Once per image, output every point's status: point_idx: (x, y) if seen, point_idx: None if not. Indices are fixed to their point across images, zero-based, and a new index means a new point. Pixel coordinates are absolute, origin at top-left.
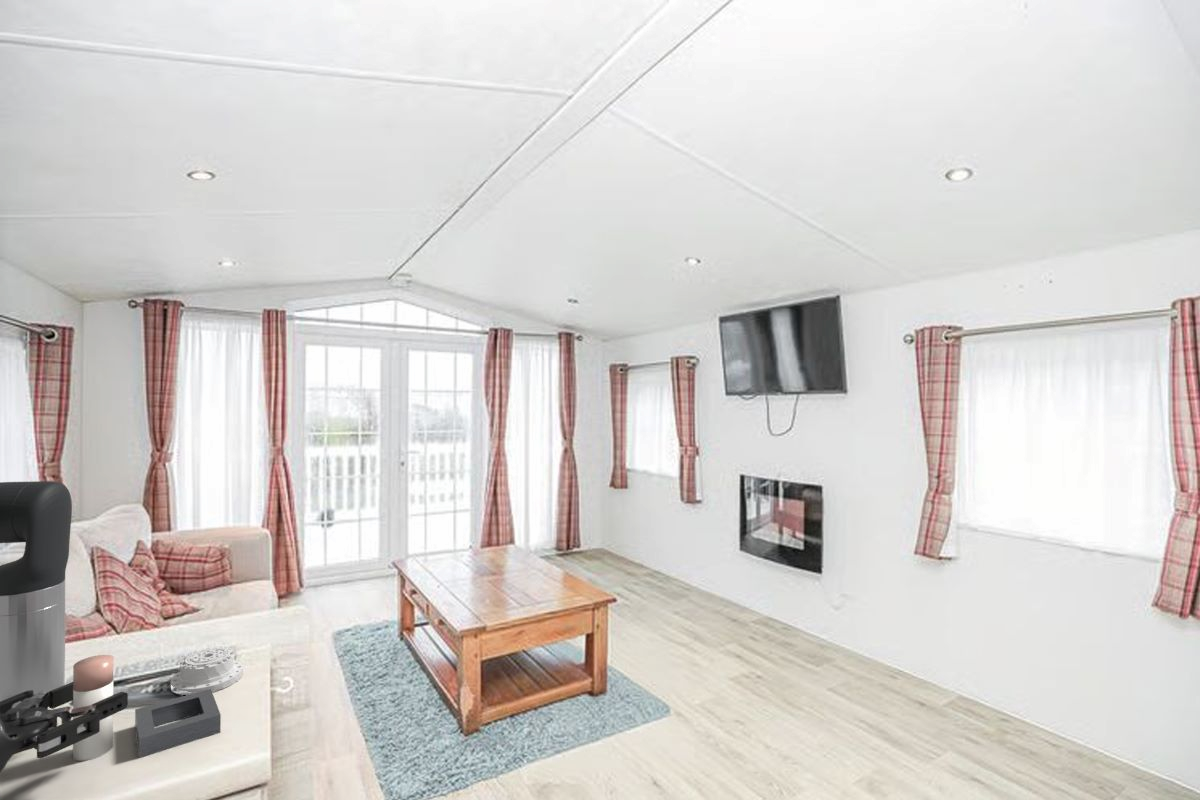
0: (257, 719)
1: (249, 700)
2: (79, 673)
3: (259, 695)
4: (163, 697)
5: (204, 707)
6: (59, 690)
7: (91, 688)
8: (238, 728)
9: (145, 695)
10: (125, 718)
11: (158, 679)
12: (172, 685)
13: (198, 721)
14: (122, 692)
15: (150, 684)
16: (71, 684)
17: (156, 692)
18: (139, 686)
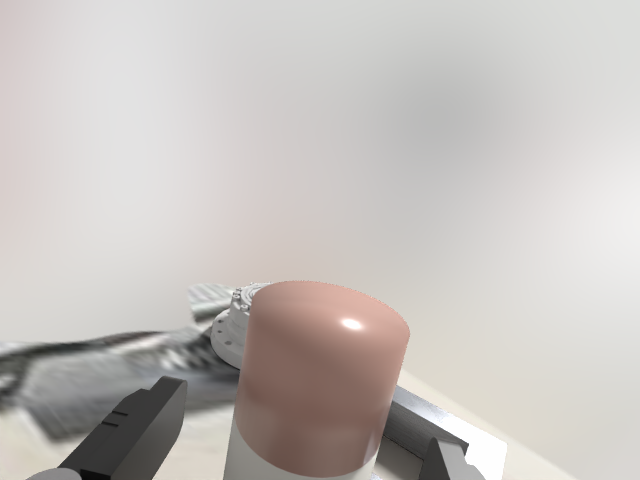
0: (497, 433)
1: (408, 385)
2: (348, 382)
3: (406, 373)
4: (232, 381)
5: (438, 423)
6: (131, 452)
7: (373, 450)
8: (506, 463)
9: (184, 377)
10: (210, 453)
11: (169, 337)
12: (240, 355)
13: (500, 474)
14: (452, 444)
15: (165, 348)
16: (160, 407)
17: (201, 368)
18: (144, 353)
